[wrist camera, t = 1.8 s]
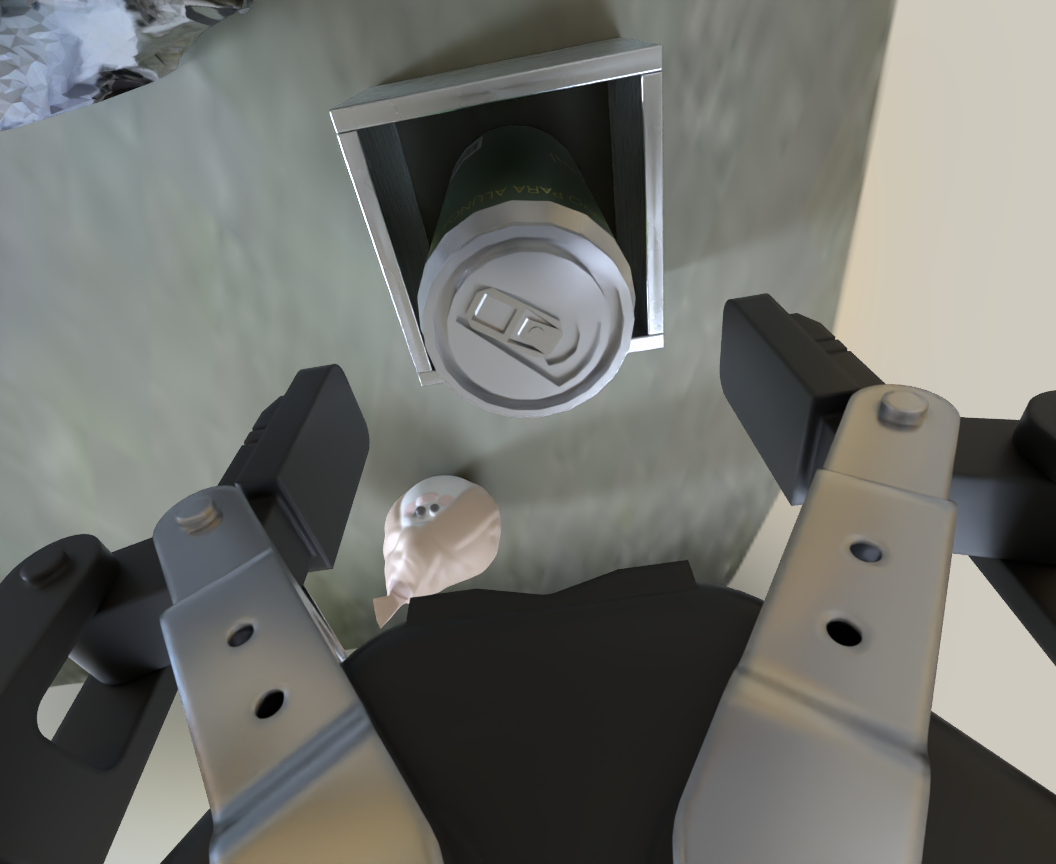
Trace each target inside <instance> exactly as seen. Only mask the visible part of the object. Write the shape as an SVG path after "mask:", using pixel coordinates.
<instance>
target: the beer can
mask: <svg viewBox="0 0 1056 864" xmlns="http://www.w3.org/2000/svg"><path fill="white" fill-rule="evenodd" d="M417 299H418V309H419V319H420V329H421V331H422V333H423V335H424V339H425V347H426V350H427V352H428V354H429V356H430V358H431V360H432V362H433V365H434V367H435V369H436V371H437V373H438V375H439V376H440V377H441V378H442V379H443V380H444V381H445V382H446V383H447V384H448V385H449V386H450V387H451V388H452V390H453V391H454V392H455V393H456V394H457V395H458V396H460V397H462V398H464V399H465V400H467V401H469V402H470V403H472V404H474V405H476V406H477V407H479V408H481V409H482V410H486V411H490V412H493V413H497V414H501V415H505V416H509V417H543V416H547V415H551V414H555V413H559V412H563V411H566V410H570V409H572V408H573V407H575V406H577V405H579V404H580V403H582V402H584V401H586V400H587V399H589V398H591V397H593V396H595V395H596V394H597V393H598V392H599V391H600V390H601V389H602V388H603V387H604V386H605V385H606V384H607V383H608V382H609V381H610V380H611V379H612V378H613V377H614V376H615V375H616V373H617V371H618V369H619V367H620V366H621V364H622V362H623V360H624V358H625V356H626V354H627V352H628V350H629V349H630V343H631V337H632V331H633V325H634V319H635V318H634V307H635V301H636V298H635V292H634V286H633V281H632V275H631V269H630V266H629V264H628V262H627V260H626V258H625V256H624V255H623V253H622V251H621V249H620V247H619V245H618V243H617V241H616V239H615V237H614V236H613V234H612V232H611V230H610V228H609V226H608V224H607V222H606V220H605V219H604V217H603V215H602V213H601V211H600V209H599V207H598V205H597V203H596V201H595V200H594V198H593V196H592V194H591V192H590V190H589V188H588V186H587V184H586V183H585V181H584V179H583V177H582V175H581V173H580V171H579V169H578V168H577V166H576V164H575V162H574V161H573V159H572V157H571V155H570V154H569V152H568V150H567V149H566V148H565V147H564V146H562V145H561V144H560V143H559V142H558V141H557V140H556V139H555V138H553V137H552V136H551V135H550V134H547V133H545V132H542V131H540V130H538V129H535V128H533V127H530V126H509V125H506V126H503V127H500V128H497V129H494V130H491V131H488V132H485V133H484V134H482V135H481V136H480V137H479V138H477V139H476V140H475V141H474V142H472V143H471V144H470V145H469V146H467V147H466V149H465V150H464V152H463V154H462V155H461V157H460V158H459V160H458V161H457V163H456V165H455V166H454V169H453V172H452V176H451V179H450V183H449V186H448V189H447V193H446V196H445V199H444V203H443V206H442V210H441V213H440V216H439V220H438V223H437V226H436V230H435V233H434V237H433V240H432V243H431V247H430V250H429V253H428V257H427V260H426V264H425V268H424V272H423V276H422V280H421V284H420V288H419V292H418V296H417Z"/></svg>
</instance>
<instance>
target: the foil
mask: <svg viewBox="0 0 1056 864" xmlns="http://www.w3.org/2000/svg"><path fill="white" fill-rule="evenodd" d="M243 2H244V1H243V0H0V131H3V130H8V129H12V128H16V127H19V126H22V125H26V124H29V123H32V122H35V121H39V120H42V119H45V118H48V117H52V116H55V115H58V114H61V113H65V112H68V111H71V110H74V109H78V108H81V107H84V106H87V105H91V104H94V103H97V102H100V101H103V100H106V99H109V98H111V97H114V96H116V95H119V94H122V93H124V92H127V91H130V90H132V89H135V88H138V87H140V86H143V85H146V84H148V83H151V82H154V81H156V80H158V79H160V78H162V77H163V76H165V75H167V74H169V73H170V72H172V71H174V70H176V69H177V66H178V62H179V59H180V57H181V56H182V55H183V54H184V53H185V52H186V51H187V49H188V48H189V47H190V46H191V45H192V44H193V43H194V42H195V40H196V39H197V38H198V37H199V36H200V35H201V34H202V33H203V31H204V30H205V29H206V28H208V27H211V26H213V25H214V24H216V23H218V22H220V21H221V20H223V19H225V18H227V17H228V16H230V15H232V14H234V13H236V12H237V11H238V12H240V13H241V14H245V13H247V12H248V11H249V9H250V8H251V6H252V4H253V0H247V7H248V8H245V9H241V8H242V5H243Z"/></svg>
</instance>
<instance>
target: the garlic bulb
mask: <svg viewBox="0 0 1056 864" xmlns="http://www.w3.org/2000/svg"><path fill="white" fill-rule="evenodd" d="M500 533H501V520H500V512H499V507H498V505H497V503H496V502H495V501H494V500H493V498H492V497H491V496H490V495H489V494H488V493H487V491H486V490H485V489H484V488H483V487H481V486H480V485H477V484H474V483H471V482H470V481H468V480H465V479H463V478H460V477H456V476H450V475H441V476H434V477H430V478H427V479H425V480H422V481H421V482H419V483H417V484H416V485H415V486H413V487H412V488H411V489H410V490H408V491H407V492H405V493H404V494H403V495H401V496H400V497H399V498H398V499H397V501H396V502H395V503H394V504H393V506H392V508H391V509H390V511H389V513H388V516H387V519H386V522H385V540H384V545H383V553H384V558H385V561H386V562H385V578H386V588H387V591H388V593H387V596H383V597H379V598H375V599H373V603H374V608H375V613H376V618H377V623H379V627H380V628H381V627H382V626H383V625H384V624H385V623H386V622H387V621H388V620H389V619H390V618H391V617H392V616H393V615H394V613H395V612H396V611H397V610H398V608H399V607H401V606H402V605H403V604H404V603H409V602H410V598H412V597H419V596H426V595H431V594H435V593H438V592H440V591H442V590H443V589H444V588H446V587H448V586H451V585H454V584H456V583H458V582H461V581H464V580H467V579H469V578H472V577H474V576H476V575H478V574H480V573H482V572H483V571H484V570H485V569H486V568H487V567H488V566H489V565H490V564H491V562H492V561H493V560H494V558H495V557H496V554H497V550H498V545H499V540H500Z"/></svg>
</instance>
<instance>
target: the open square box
mask: <svg viewBox="0 0 1056 864" xmlns="http://www.w3.org/2000/svg"><path fill="white" fill-rule="evenodd" d="M662 68H663V47H662V45H661V44H656V43H650V42H644V41H639V40H633V39H627V38H621V37H619V38H614V39H609V40H604V41H599V42H594V43H589V44H584V45H579V46H574V47H569V48H564V49H559V50H554V51H549V52H544V53H539V54H534V55H529V56H524V57H519V58H514V59H509V60H504V61H499V62H494V63H489V64H484V65H479V66H474V67H469V68H464V69H459V70H454V71H449V72H444V73H439V74H434V75H429V76H424V77H419V78H414V79H409V80H404V81H399V82H394V83H389V84H384V85H378V86H373V87H370V88H368V89H366V90H364V91H363V92H361V93H359V94H357V95H356V96H354V97H352V98H350V99H348V100H347V101H345V102H343V103H341V104H339V105H338V106H336V107H334V108H332V109H331V110H329V113H330V116H331V119H332V122H333V125H334V128H335V131H336V132H337V133H339V134H337V137H338V140H339V143H340V146H341V149H342V152H343V155H344V158H345V161H346V164H347V167H348V170H349V173H350V176H351V179H352V182H353V185H354V188H355V191H356V194H357V197H358V200H359V203H360V206H361V208H362V211H363V214H364V217H365V220H366V223H367V226H368V229H369V232H370V235H371V238H372V241H373V244H374V247H375V250H376V253H377V256H378V259H379V262H380V265H381V268H382V271H383V274H384V277H385V279H386V282H387V285H388V288H389V291H390V294H391V297H392V300H393V303H394V306H395V309H396V312H397V315H398V318H399V321H400V324H401V327H402V330H403V333H404V336H405V339H406V342H407V345H408V348H409V351H410V353H411V356H412V359H413V362H414V365H415V368H416V371H417V373H418V377H419V380H420V383H421V385H422V386H427V385H433V384H440V383H446V382H445V381H444V380H443V379H442V378H441V377H440V376H439V375H438V373H437V371H436V369H435V367H434V365H433V362H432V360H431V358H430V356H429V354H428V352H427V350H426V347H425V339H424V335H423V333H422V331H421V329H420V319H419V309H418V299H417V296H418V292H419V288H420V284H421V280H422V276H423V272H424V268H425V264H426V260H427V257H428V253H429V250H430V247H429V243H428V240H427V236H426V232H425V229H424V225H423V221H422V218H421V214H420V210H419V207H418V203H417V200H416V196H415V192H414V189H413V185H412V181H411V178H410V174H409V170H408V167H407V163H406V160H405V156H404V152H403V149H402V145H401V141H400V138H399V134H398V130H397V127H396V123H395V122H401V121H406V120H411V119H416V118H421V117H426V116H431V115H437V114H442V113H447V112H452V111H457V110H462V109H467V108H472V107H478V106H483V105H488V104H493V103H498V102H503V101H508V100H514V99H519V98H524V97H529V96H534V95H539V94H544V93H550V92H555V91H560V90H565V89H570V88H575V87H580V86H586V85H591V84H596V83H601V82H606V81H608V96H609V113H610V130H611V147H612V164H613V181H614V198H615V215H616V233H617V243H618V245H619V247H620V249H621V251H622V253H623V255H624V256H625V258H626V260H627V262H628V264H629V266H630V269H631V275H632V281H633V286H634V292H635V298H636V301H635V307H634V318H635V319H634V325H633V331H632V337H631V343H630V349H629V350H628V352H627V353H631V352H637V351H643V350H649V349H655V348H661V347H664V333H663V332H664V216H663V73H662V71H661V70H662Z"/></svg>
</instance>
